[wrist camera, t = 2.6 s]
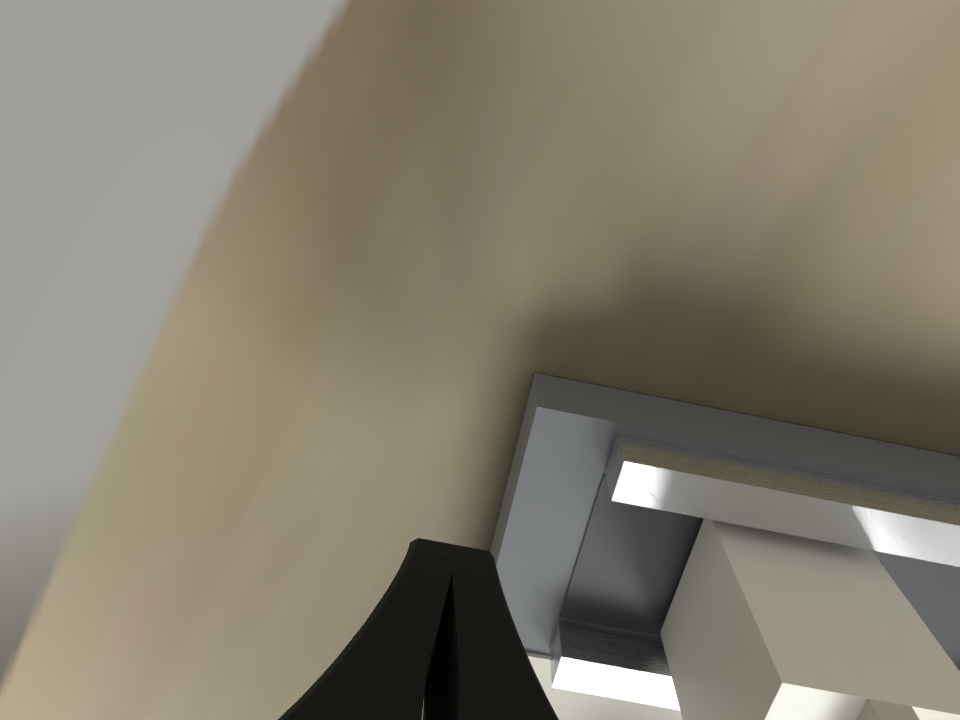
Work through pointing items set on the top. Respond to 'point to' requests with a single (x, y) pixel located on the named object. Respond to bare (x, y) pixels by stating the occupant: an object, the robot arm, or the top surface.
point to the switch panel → (690, 527)
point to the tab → (799, 634)
